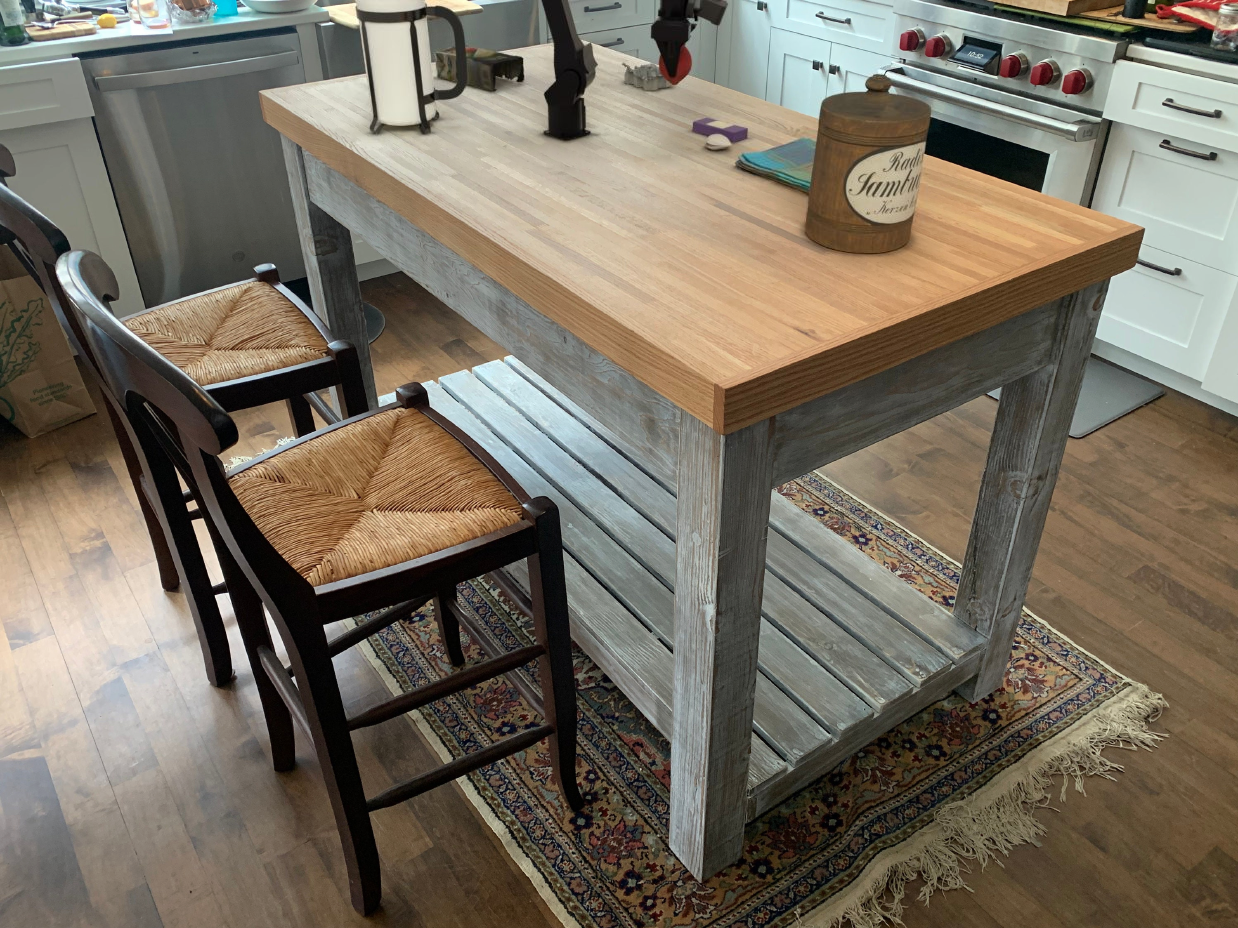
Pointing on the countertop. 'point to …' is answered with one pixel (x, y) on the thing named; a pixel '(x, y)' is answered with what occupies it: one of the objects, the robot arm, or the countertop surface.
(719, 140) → the white clam shell
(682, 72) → the onion
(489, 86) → the juice carton
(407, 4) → the coffee press
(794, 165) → the dish towel
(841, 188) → the wooden container
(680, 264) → the countertop surface
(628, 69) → the egg carton
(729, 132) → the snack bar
